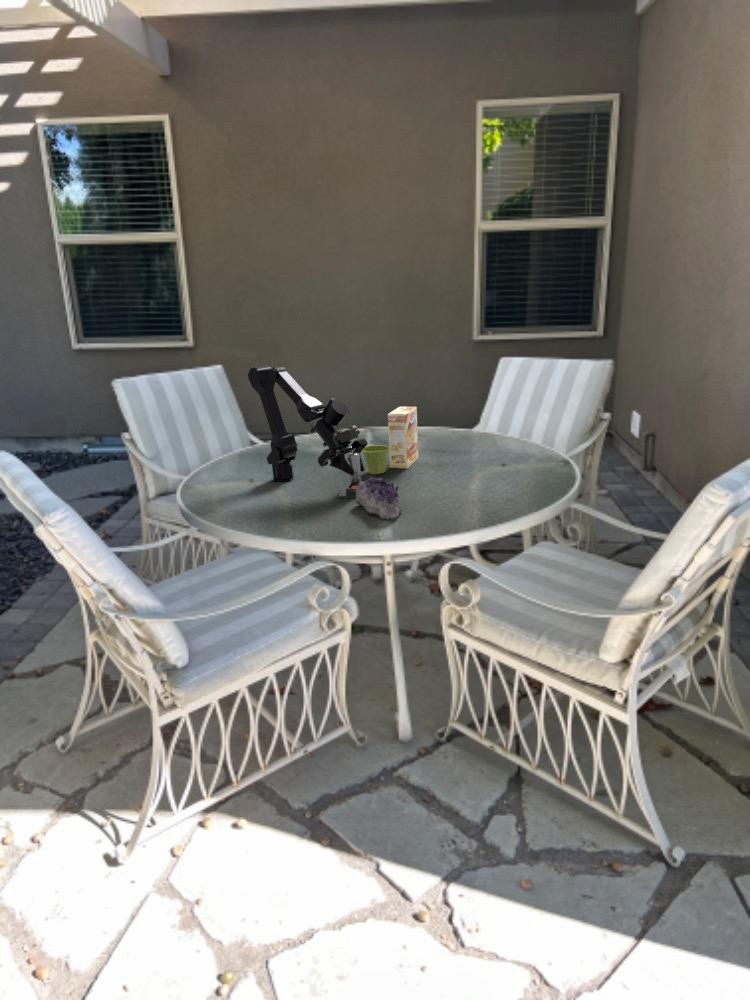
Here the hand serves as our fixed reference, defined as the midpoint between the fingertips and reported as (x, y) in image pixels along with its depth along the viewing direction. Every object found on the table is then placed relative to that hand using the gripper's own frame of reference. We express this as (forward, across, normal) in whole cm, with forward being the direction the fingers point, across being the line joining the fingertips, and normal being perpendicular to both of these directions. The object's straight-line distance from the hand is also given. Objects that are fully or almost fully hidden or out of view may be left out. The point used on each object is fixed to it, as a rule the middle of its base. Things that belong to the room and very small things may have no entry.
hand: (358, 472), depth 217 cm
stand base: (+4, 0, +6) cm, 7 cm away
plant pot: (-3, +22, +13) cm, 26 cm away
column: (+4, 0, +6) cm, 7 cm away
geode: (+16, -8, -6) cm, 19 cm away
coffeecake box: (-2, +37, +12) cm, 39 cm away
